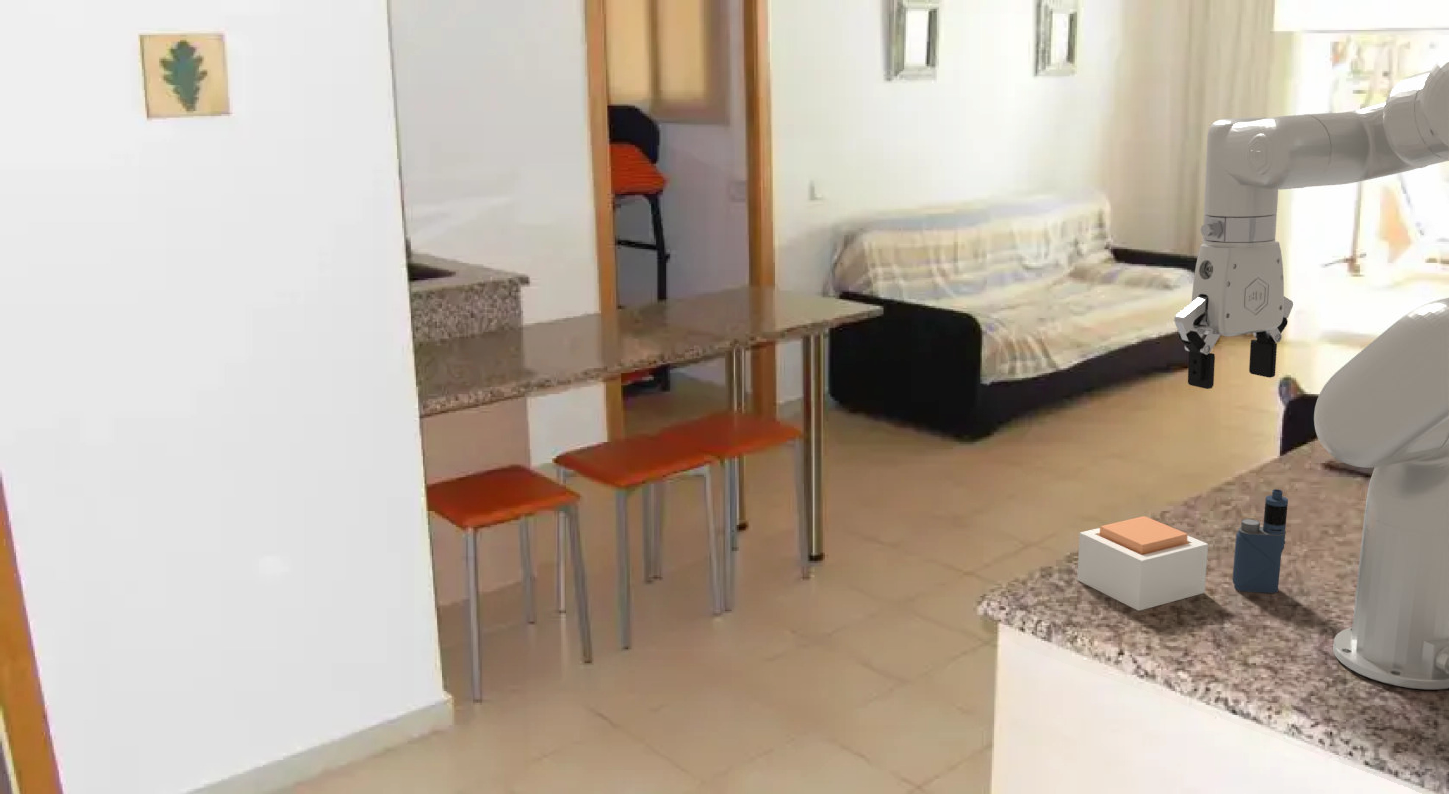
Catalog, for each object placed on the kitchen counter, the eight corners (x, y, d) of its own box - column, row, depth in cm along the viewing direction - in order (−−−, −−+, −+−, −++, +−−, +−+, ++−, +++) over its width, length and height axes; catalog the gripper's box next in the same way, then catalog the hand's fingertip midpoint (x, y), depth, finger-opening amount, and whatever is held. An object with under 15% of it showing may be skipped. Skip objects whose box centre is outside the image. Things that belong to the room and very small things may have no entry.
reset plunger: (1185, 558, 145) (1187, 533, 144) (1140, 570, 142) (1142, 545, 141) (1142, 539, 151) (1144, 516, 150) (1098, 550, 148) (1100, 526, 147)
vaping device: (1282, 594, 144) (1292, 495, 141) (1234, 591, 145) (1242, 493, 142) (1277, 585, 146) (1286, 487, 143) (1229, 582, 148) (1238, 485, 144)
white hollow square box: (1204, 592, 145) (1208, 544, 143) (1138, 611, 141) (1141, 560, 139) (1141, 563, 154) (1144, 517, 152) (1077, 580, 149) (1079, 532, 148)
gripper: (1208, 239, 133) (1201, 397, 137) (1321, 227, 141) (1312, 376, 145) (1155, 234, 140) (1150, 385, 144) (1266, 222, 147) (1258, 366, 151)
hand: (1231, 380), depth 144 cm, fingers open, 9 cm apart
